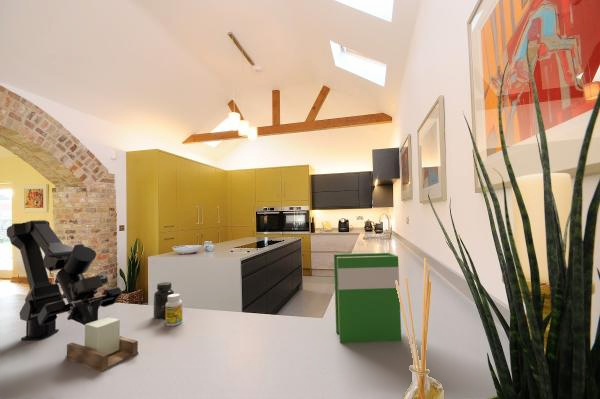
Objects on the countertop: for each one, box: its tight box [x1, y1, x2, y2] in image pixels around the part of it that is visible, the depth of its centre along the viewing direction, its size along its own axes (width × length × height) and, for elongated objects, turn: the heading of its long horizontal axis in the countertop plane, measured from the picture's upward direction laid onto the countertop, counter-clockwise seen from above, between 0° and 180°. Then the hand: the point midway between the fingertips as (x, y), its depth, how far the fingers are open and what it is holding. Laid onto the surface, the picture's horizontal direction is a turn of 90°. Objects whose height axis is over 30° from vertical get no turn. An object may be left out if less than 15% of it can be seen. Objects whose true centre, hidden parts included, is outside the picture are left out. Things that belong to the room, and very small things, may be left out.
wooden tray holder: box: [65, 335, 139, 373], centre depth 74 cm, size 16×9×4 cm, turn 65°
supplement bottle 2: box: [165, 293, 183, 327], centre depth 96 cm, size 5×5×10 cm
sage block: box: [84, 316, 121, 355], centre depth 74 cm, size 6×6×8 cm
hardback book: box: [333, 252, 402, 344], centre depth 83 cm, size 18×7×24 cm, turn 91°
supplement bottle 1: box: [153, 281, 175, 320], centre depth 103 cm, size 7×7×12 cm
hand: (95, 328), depth 76 cm, fingers closed, pressing on sage block
